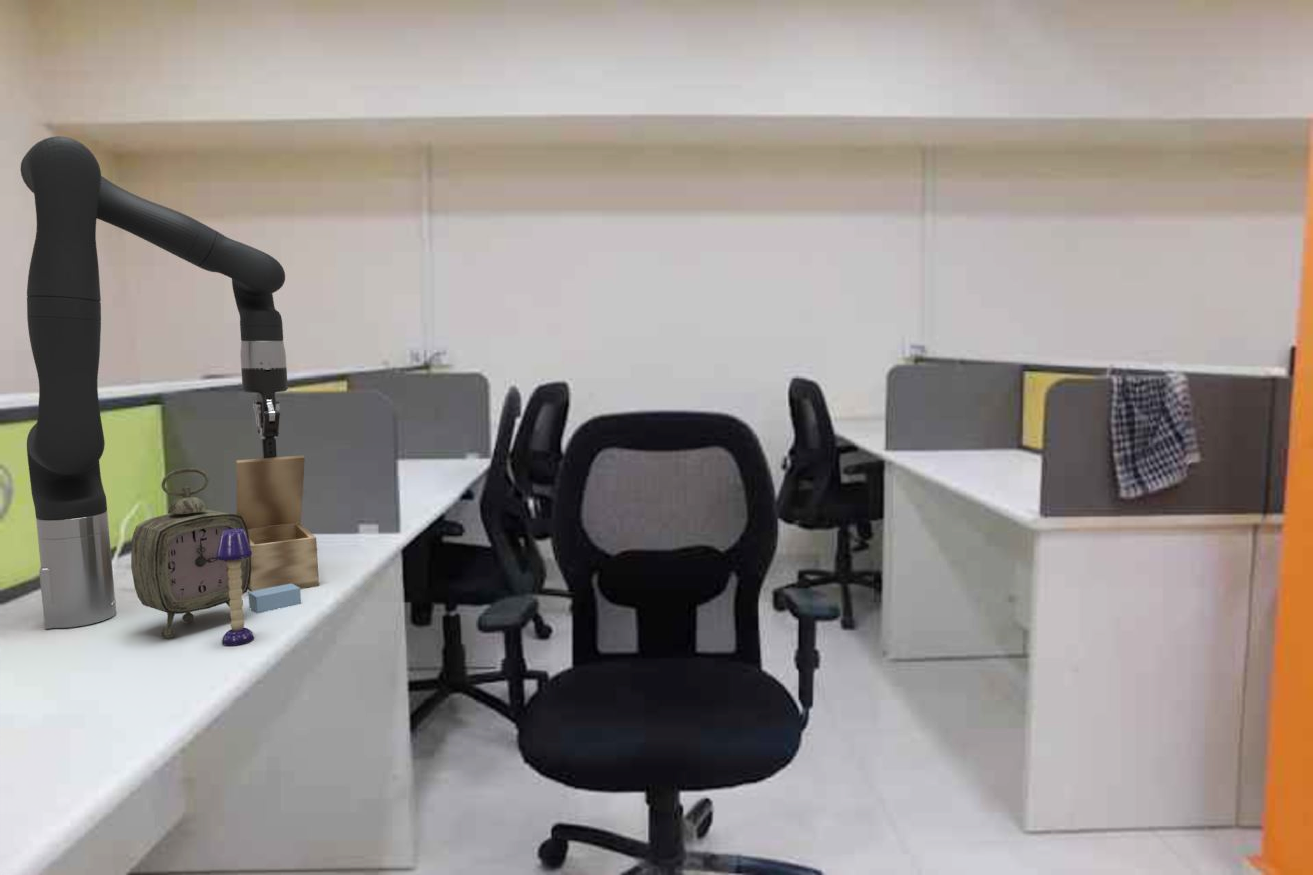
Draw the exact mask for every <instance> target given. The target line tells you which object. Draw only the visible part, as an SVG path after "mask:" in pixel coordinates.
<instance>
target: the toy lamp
mask: <svg viewBox="0 0 1313 875" xmlns="http://www.w3.org/2000/svg"><path fill="white" fill-rule="evenodd" d="M251 555H252V551H251V548H250V545H249V542H248V539H247V536H246V533H245V531H244V530H243V529H229V530H225V531H223V532H222V533H221V537H220V541H219V545H218V550H217V554H216V558H217V559H218V560H228V561H227V565H228V568H229V570H228V577H229V581H228V585H229V588H230V590H229V597H230V599H231V600H230V602H229V605H230V607H229V608H230V611H229V616H230V619H231V620H230V627H231V629H229V630H228V631H226V632H225V633H224V634H223V637H222V640H221V644H222V645H223V646H228V645H232V646H238V644H240V645H244V644H247V643H250V642H253V640H255V636H254V633H253V631H252V630H251V629H250V628H248V627H244V626H245V621H244V615H245V614H244V609H243V607H244V600H243V598H242V597H243V595H242V589H241V585H242V580H241V578H240V576H241V569H240V565H241V559H244V558H248V557H250V556H251ZM249 641H250V642H249ZM243 643H244V644H243Z"/></svg>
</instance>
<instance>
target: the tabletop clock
mask: <svg viewBox="0 0 1313 875" xmlns="http://www.w3.org/2000/svg"><path fill="white" fill-rule="evenodd" d="M184 473H198V474H200V475H201V476H203V477H204V480H205V482H204V483H203V484H202V485H201V486H199V487H196V488H194V489H191V487H190V486H189V485H184V486H183V487H182V488H181V489H182V490H181V491H172V490H169V489H167V488H166V483H167V481H168V480H169V479H171V477H173V476H175V475H179V474H184ZM209 480H210V479H209V476H208V474H207V472H205V471H204V470H202V469H200V468H197V467H185V468H178V469H173V471H170V472H169V473H167V474H166V475H165V476H164V477H163V479H162V481H161V485H160V486H161V489H162V490H163V492H164V493H165V494H168V495H169V496H175V497H179V498H177V499H175V500H174V501H173V502H172V503H171V505H169V507H168V508H169V509H168V512H167V513H166V514H163V515H158V516H155V517H152V518H149V519H146V520H144V521H141V522H140V523H138V524H137V525H136V526H135V528H134V531H133V534H132V538H131V545H130V546H131V548H130V550H131V551H130V553H131V554H130V556H131V557H130V558H131V560H130V562H131V563H130V568H131V574H132V578H133V584H134V585H133V586H134V589H135V592H136V593H135V594H136V596H137V598H138V599H139V601H140V604H142V606H144V607H147V608H150V609H151V608H152V609H153V610H157V611H161V612H164V613H166V615H167V619H166V626H165V627H164V628H163V629H162V630H161V636H162V638H165V639H169V638H172V637H173V636H174V635H175V629H174V628H173V627H172V625H173V621H174V619H175V618H174V617H175V615H183V616H182V618H181V619H182V621H183V622H184V623H185V624H190V623H192V622H193V620H194V619H195V616H194V614H193V612H198V611H202V610H207V609H211V608H214V607H217V606H220V605H223V604H226V605H227V606H228V608H230V605H229V602H230V600H231V599H230V597H229V590H230V588H229V585H228V581H229V577H228V570H229V568H228V565H227V561H228V560H218V559H217V558H216V554H217V550H218V545H219V541H220V537H221V533H222V532H223V531H225V530H229V529H243V530H244V531H245V533H246V536H247V539H248V542H249V545H250V540H249V533H248V530H247V526H246V523H245V521H244V519H243V518H242V516H239V515H236V514H233V513H229V512H223V511H217V510H212V509H208V507H207V505H206V503H205V502H204V501H203V500H202V499H201V498H200V497H196V496H192V495H195V494H198V493H200V492H201V491H203V490H205V488H206V487H207V486H208V484H209ZM250 548H251V547H250ZM240 569H241V576H240V578H241V580H242V585H241V589H242V596H243V595H244V594H245V593H248V591H249V589H248V587H249V584H250V578H251V556H250V557H248V558H244V559H241V565H240Z"/></svg>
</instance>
